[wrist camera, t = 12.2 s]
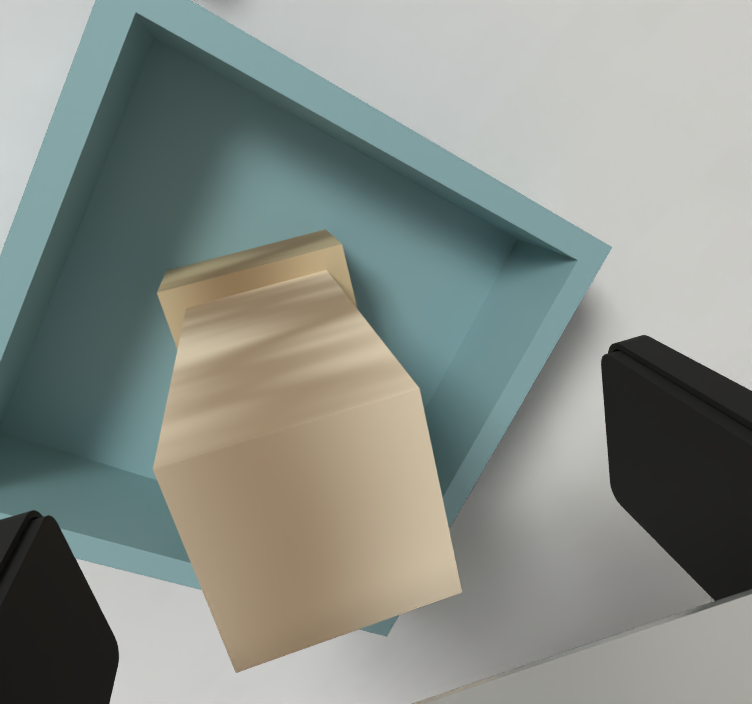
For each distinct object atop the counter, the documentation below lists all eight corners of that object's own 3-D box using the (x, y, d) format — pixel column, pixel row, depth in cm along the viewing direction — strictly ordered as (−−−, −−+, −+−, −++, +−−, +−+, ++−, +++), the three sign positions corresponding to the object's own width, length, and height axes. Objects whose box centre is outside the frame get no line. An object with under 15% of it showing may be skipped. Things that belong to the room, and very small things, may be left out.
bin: (533, 225, 23) (612, 247, 18) (357, 546, 26) (386, 636, 21) (140, 1, 18) (112, -46, 13) (-26, 430, 21) (-97, 515, 16)
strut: (325, 229, 20) (450, 341, 9) (360, 372, 22) (498, 607, 11) (166, 270, 20) (93, 445, 8) (216, 414, 21) (211, 711, 10)
